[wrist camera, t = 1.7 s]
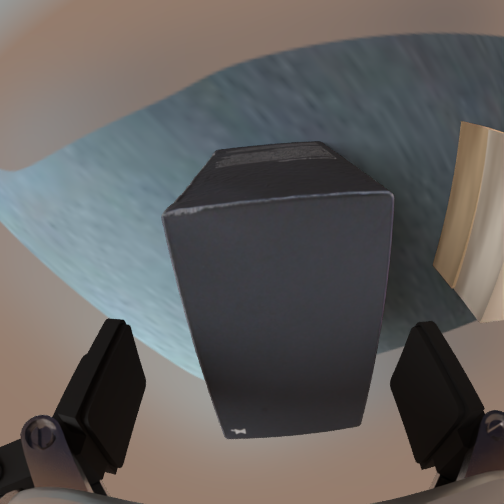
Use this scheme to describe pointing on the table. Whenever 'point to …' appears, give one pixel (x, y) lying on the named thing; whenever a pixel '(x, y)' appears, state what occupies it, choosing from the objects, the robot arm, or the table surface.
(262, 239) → the small box
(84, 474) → the robot arm
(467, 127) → the oak slab
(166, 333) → the table surface
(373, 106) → the table surface
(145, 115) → the table surface
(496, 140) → the ash slab
